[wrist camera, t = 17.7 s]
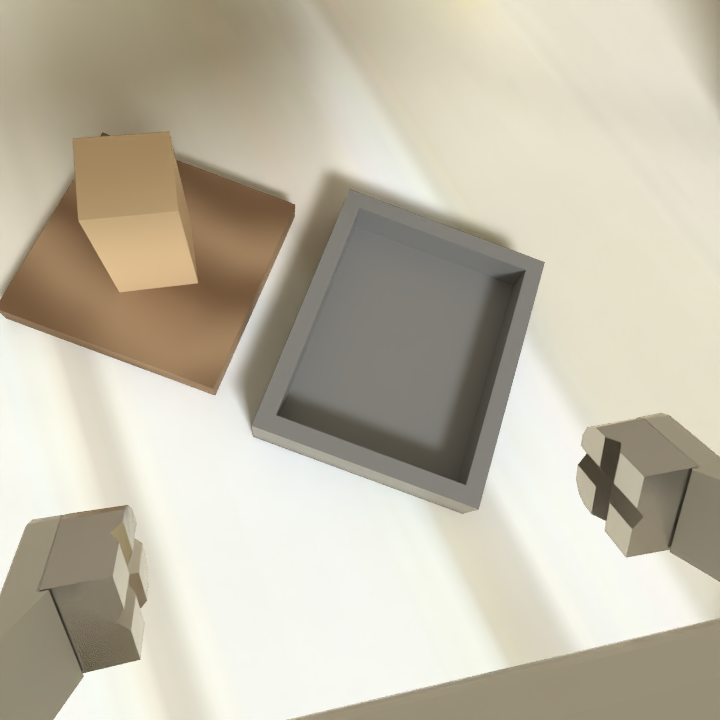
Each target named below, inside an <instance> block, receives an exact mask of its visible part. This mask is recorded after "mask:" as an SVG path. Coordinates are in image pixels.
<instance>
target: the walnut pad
mask: <svg viewBox="0 0 720 720" xmlns="http://www.w3.org/2000/svg"><path fill="white" fill-rule="evenodd" d="M102 136H110V135H108V134H105V133H102V134H101V136H100V137H102ZM176 162H177V166H178V171H179V175H180V179H181V183H182V187H183V191H184V195H185V199H186V203H187V207H188V211H189V215H190V222H191V230H192V238H193V245H194V253H195V261H196V269H197V277H198V283H196V284H187V285H179V286H170V287H161V288H153V289H144V290H136V291H127V292H119V291H118V289H117V287H116V286H115V284H114V282H113V280H112V279H111V277H110V275H109V273H108V272H107V270H106V268H105V266H104V265H103V263H102V261H101V259H100V258H99V256H98V254H97V252H96V251H95V249H94V247H93V245H92V244H91V242H90V240H89V238H88V237H87V235H86V233H85V231H84V230H83V228H82V226H81V224H80V223H79V221H78V210H77V195H76V180H75V179H74V180H73V182H72V183H71V185H70V187H69V188H68V190H67V192H66V193H65V195H64V197H63V198H62V200H61V202H60V203H59V205H58V206H57V208H56V210H55V211H54V213H53V215H52V216H51V218H50V220H49V221H48V223H47V224H46V226H45V228H44V229H43V231H42V233H41V234H40V236H39V238H38V239H37V241H36V243H35V244H34V246H33V247H32V249H31V251H30V252H29V254H28V256H27V257H26V259H25V261H24V262H23V264H22V266H21V267H20V269H19V270H18V272H17V274H16V275H15V277H14V279H13V280H12V282H11V284H10V285H9V287H8V288H7V290H6V292H5V293H4V295H3V297H2V298H1V300H0V313H1V314H2V315H3V316H4V317H5V318H7V319H10V320H12V321H15V322H18V323H20V324H23V325H26V326H29V327H31V328H34V329H37V330H39V331H42V332H45V333H48V334H50V335H53V336H56V337H58V338H61V339H64V340H67V341H69V342H72V343H75V344H77V345H80V346H83V347H86V348H88V349H91V350H94V351H96V352H99V353H102V354H104V355H107V356H110V357H113V358H115V359H118V360H121V361H123V362H126V363H129V364H132V365H134V366H137V367H140V368H142V369H145V370H148V371H151V372H153V373H156V374H159V375H161V376H164V377H167V378H170V379H172V380H175V381H178V382H180V383H183V384H186V385H189V386H191V387H194V388H197V389H199V390H202V391H205V392H207V393H210V394H213V395H216V392H217V390H218V388H219V386H220V383H221V381H222V379H223V377H224V374H225V372H226V370H227V368H228V365H229V363H230V361H231V359H232V356H233V354H234V352H235V350H236V347H237V345H238V343H239V341H240V338H241V336H242V334H243V332H244V330H245V327H246V325H247V323H248V321H249V318H250V316H251V314H252V312H253V309H254V307H255V305H256V303H257V300H258V298H259V296H260V294H261V291H262V289H263V287H264V285H265V282H266V280H267V278H268V276H269V273H270V271H271V269H272V267H273V264H274V262H275V260H276V258H277V255H278V253H279V251H280V249H281V246H282V244H283V242H284V240H285V237H286V235H287V233H288V231H289V228H290V226H291V224H292V222H293V219H294V217H295V204H292V203H289V202H287V201H284V200H281V199H279V198H276V197H273V196H271V195H268V194H265V193H263V192H260V191H257V190H254V189H252V188H249V187H246V186H244V185H241V184H238V183H236V182H233V181H230V180H228V179H225V178H222V177H220V176H217V175H214V174H212V173H209V172H206V171H204V170H201V169H198V168H196V167H193V166H190V165H188V164H185V163H182V162H180V161H177V160H176Z"/></svg>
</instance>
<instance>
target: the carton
mask: <svg viewBox="0 0 720 720" xmlns="http://www.w3.org/2000/svg"><path fill="white" fill-rule="evenodd" d="M73 150H74V165H75V180H76V195H77V210H78V221H79V223H80V224H81V226H82V228H83V230H84V231H85V233H86V235H87V237H88V238H89V240H90V242H91V244H92V245H93V247H94V249H95V251H96V252H97V254H98V256H99V258H100V259H101V261H102V263H103V265H104V266H105V268H106V270H107V272H108V273H109V275H110V277H111V279H112V280H113V282H114V284H115V286H116V287H117V289H118V291H119V292H127V291H136V290H144V289H153V288H161V287H170V286H179V285H187V284H196V283H198V277H197V269H196V261H195V253H194V245H193V238H192V230H191V222H190V215H189V211H188V207H187V203H186V199H185V195H184V191H183V187H182V183H181V179H180V175H179V171H178V166H177V162H176V158H175V154H174V150H173V146H172V142H171V138H170V134H169V132H158V133H144V134H130V135H116V136H102V137H88V138H74V139H73Z"/></svg>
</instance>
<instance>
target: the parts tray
mask: <svg viewBox="0 0 720 720" xmlns="http://www.w3.org/2000/svg"><path fill="white" fill-rule="evenodd" d="M544 263H545V262H542V261H540V260H537V259H534V258H532V257H529V256H526V255H524V254H521V253H518V252H516V251H513V250H510V249H508V248H505V247H502V246H500V245H497V244H494V243H492V242H489V241H486V240H484V239H481V238H479V237H476V236H473V235H471V234H468V233H465V232H463V231H460V230H457V229H455V228H452V227H449V226H447V225H444V224H441V223H439V222H436V221H433V220H431V219H428V218H425V217H423V216H420V215H417V214H415V213H412V212H409V211H407V210H404V209H401V208H399V207H396V206H393V205H391V204H388V203H385V202H383V201H380V200H377V199H375V198H372V197H369V196H367V195H364V194H361V193H359V192H356V191H353V190H351V189H350V190H349V192H348V195H347V197H346V200H345V202H344V204H343V207H342V209H341V212H340V214H339V216H338V219H337V221H336V224H335V226H334V228H333V231H332V233H331V236H330V238H329V240H328V243H327V245H326V248H325V250H324V253H323V255H322V257H321V260H320V262H319V265H318V267H317V269H316V272H315V274H314V277H313V279H312V281H311V284H310V286H309V289H308V291H307V293H306V296H305V298H304V301H303V303H302V305H301V308H300V310H299V313H298V315H297V318H296V320H295V322H294V325H293V327H292V330H291V332H290V334H289V337H288V339H287V342H286V344H285V346H284V349H283V351H282V354H281V356H280V358H279V361H278V363H277V366H276V368H275V370H274V373H273V375H272V378H271V380H270V383H269V385H268V387H267V390H266V392H265V395H264V397H263V399H262V402H261V404H260V407H259V409H258V411H257V414H256V416H255V419H254V421H253V423H252V431H253V437H256V438H259V439H261V440H264V441H267V442H269V443H272V444H275V445H278V446H280V447H283V448H286V449H288V450H291V451H294V452H297V453H299V454H302V455H305V456H307V457H310V458H313V459H316V460H318V461H321V462H324V463H326V464H329V465H332V466H335V467H337V468H340V469H343V470H345V471H348V472H351V473H354V474H356V475H359V476H362V477H364V478H367V479H370V480H373V481H375V482H378V483H381V484H383V485H386V486H389V487H392V488H394V489H397V490H400V491H402V492H405V493H408V494H411V495H413V496H416V497H419V498H422V499H424V500H427V501H430V502H432V503H435V504H438V505H441V506H443V507H446V508H449V509H451V510H454V511H457V512H460V513H462V514H463V513H467V512H471V511H474V510H478V509H479V506H480V502H481V498H482V495H483V491H484V487H485V483H486V480H487V476H488V472H489V468H490V465H491V461H492V457H493V453H494V450H495V446H496V442H497V439H498V435H499V431H500V427H501V424H502V420H503V416H504V412H505V409H506V405H507V401H508V397H509V394H510V390H511V386H512V382H513V379H514V375H515V371H516V367H517V364H518V360H519V356H520V353H521V349H522V345H523V341H524V338H525V334H526V330H527V326H528V323H529V319H530V315H531V311H532V308H533V304H534V300H535V296H536V293H537V289H538V285H539V282H540V278H541V274H542V270H543V267H544Z"/></svg>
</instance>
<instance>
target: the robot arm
mask: <svg viewBox="0 0 720 720" xmlns="http://www.w3.org/2000/svg"><path fill="white" fill-rule="evenodd" d="M581 446H582V448H583V449H584V450H585V452H586V453H587V454H586V455H585V457H584V458H583V459H582V460H581V462H580V463H579V464H578V468H577V476H576V481H577V486H578V491H579V495H580V497H581V499H582V501H583V503H584V505H585V506H586V507H587V509H588V510H589V511H590V513H591V514H593V515H595V516H597V517H599V518H601V519H603V520H605V521H606V524H605V532H606V533H607V534H608V536H609V537H610V538H611V539H612V541H613V542H614V543H615V544H616V546H617V547H618V548H619V549H620V551H621V552H622V553H623V554H624V556H625V557H631V556H637V555H642V554H648V553H653V552H659V551H665V550H670V552H671V553H672V554H674V555H676V556H678V557H679V558H681V559H683V560H684V561H686V562H688V563H689V564H691V565H693V566H694V567H696V568H698V569H699V570H701V571H703V572H704V573H706V574H708V575H709V576H711V577H713V578H714V579H716V580H718V581H720V457H719V456H718V455H716V454H715V453H714V452H713V451H712V450H710V449H709V448H708V447H707V446H706V445H704V444H703V443H702V442H701V441H700V440H698V439H697V438H696V437H695V436H694V435H692V434H691V433H690V432H689V431H688V430H686V429H685V428H684V427H683V426H682V425H680V424H679V423H678V422H677V421H676V420H674V419H673V418H672V417H671V416H669V415H666V414H663V413H658V414H653V415H648V416H643V417H638V418H636V419H631V420H625V421H620V422H614V423H608V424H603V425H597V426H591V427H587V428H586V430H585V432H584V433H583V436H582V442H581ZM136 524H137V523H136V520H135V517H134V514H133V511H132V508H131V507H130V506H128V505H125V506H118V507H111V508H104V509H98V510H91V511H84V512H77V513H71V514H65V515H60V516H53V517H47V518H40V519H34V520H32V521H31V522H29V523H28V524H27V526H26V527H25V530H24V532H23V535H22V538H21V540H20V543H19V546H18V548H17V551H16V554H15V556H14V559H13V562H12V564H11V567H10V570H9V572H8V575H7V578H6V580H5V583H4V586H3V588H2V591H1V594H0V720H53V719H54V718H55V716H56V715H57V714H58V712H59V711H60V709H61V708H62V706H63V705H64V704H65V702H66V701H67V699H68V698H69V696H70V695H71V694H72V692H73V691H74V689H75V688H76V687H77V685H78V684H79V682H80V681H81V679H82V678H83V677H84V676H83V673H86V672H90V671H94V670H98V669H103V668H107V667H111V666H115V665H119V664H124V663H128V662H132V661H136V660H140V659H141V650H142V641H143V633H144V624H145V623H144V620H143V617H142V613H141V610H140V608H141V607H142V606H143V605H144V604H145V602H146V601H147V596H148V567H147V561H146V555H145V551H144V547H143V544H142V543H141V542H139V541H138V540H136V539H135V531H136ZM288 720H720V618H719V619H715V620H710V621H706V622H702V623H698V624H693V625H689V626H685V627H681V628H676V629H672V630H668V631H663V632H659V633H655V634H651V635H646V636H642V637H638V638H634V639H629V640H625V641H621V642H617V643H612V644H608V645H604V646H599V647H595V648H591V649H587V650H582V651H578V652H574V653H570V654H565V655H561V656H557V657H553V658H548V659H544V660H540V661H536V662H531V663H527V664H523V665H518V666H514V667H510V668H506V669H501V670H497V671H493V672H489V673H484V674H480V675H476V676H472V677H467V678H463V679H459V680H455V681H450V682H446V683H442V684H437V685H433V686H429V687H425V688H420V689H416V690H412V691H408V692H403V693H399V694H395V695H391V696H386V697H382V698H378V699H374V700H369V701H365V702H361V703H357V704H352V705H348V706H344V707H339V708H335V709H331V710H327V711H322V712H318V713H314V714H310V715H305V716H301V717H297V718H293V719H288Z"/></svg>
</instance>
